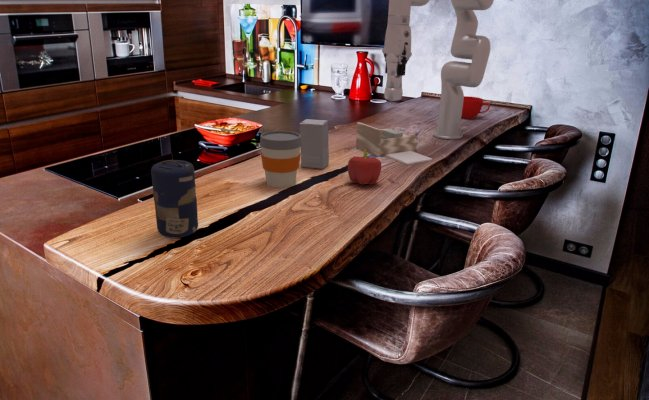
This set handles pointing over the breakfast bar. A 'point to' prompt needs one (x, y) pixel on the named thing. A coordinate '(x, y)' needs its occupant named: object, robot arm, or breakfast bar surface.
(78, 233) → the breakfast bar surface
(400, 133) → the offcut top
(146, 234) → the breakfast bar surface
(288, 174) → the reusable coffee cup
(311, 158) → the skincare box
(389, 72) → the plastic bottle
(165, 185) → the canister
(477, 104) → the ceramic cup
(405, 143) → the frame
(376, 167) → the vegetable
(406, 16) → the robot arm
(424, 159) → the pad
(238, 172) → the breakfast bar surface
